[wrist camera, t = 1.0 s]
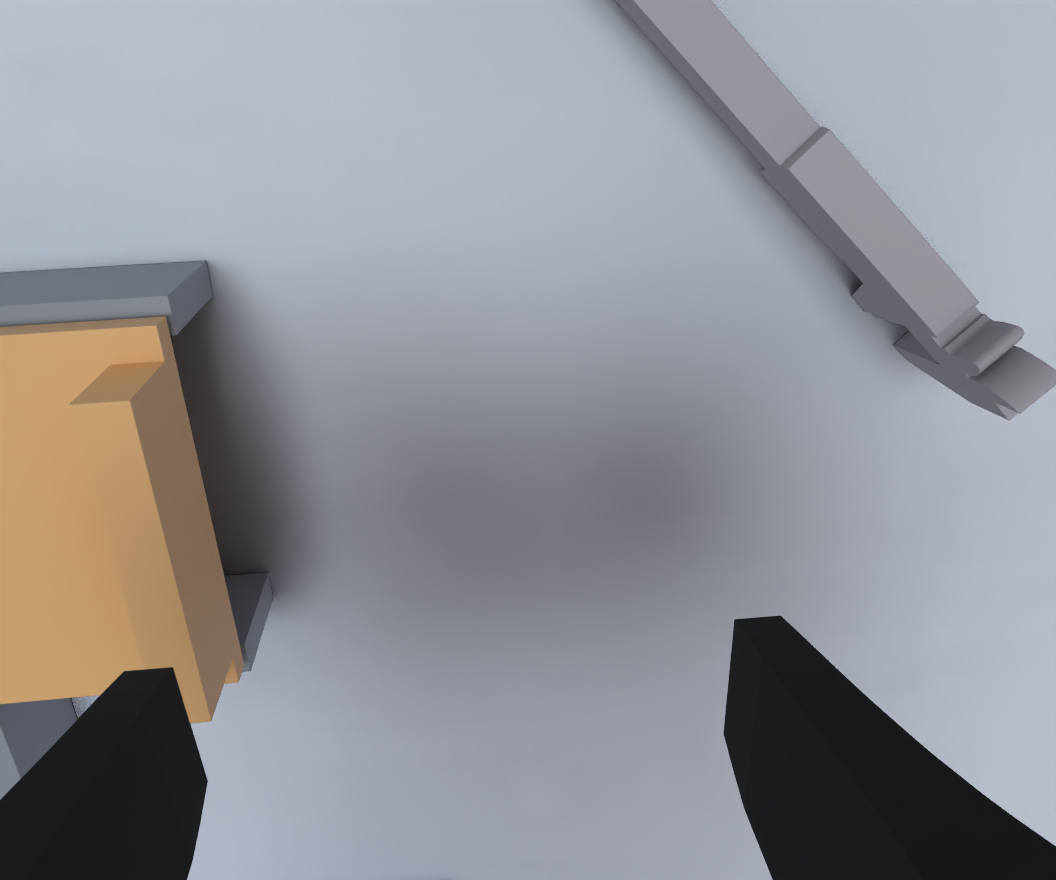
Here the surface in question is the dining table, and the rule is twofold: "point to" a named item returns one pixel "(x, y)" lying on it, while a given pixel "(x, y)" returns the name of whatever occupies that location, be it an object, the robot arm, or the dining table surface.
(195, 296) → the housing
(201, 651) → the lid
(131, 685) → the robot arm
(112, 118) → the dining table surface
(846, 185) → the caliper
